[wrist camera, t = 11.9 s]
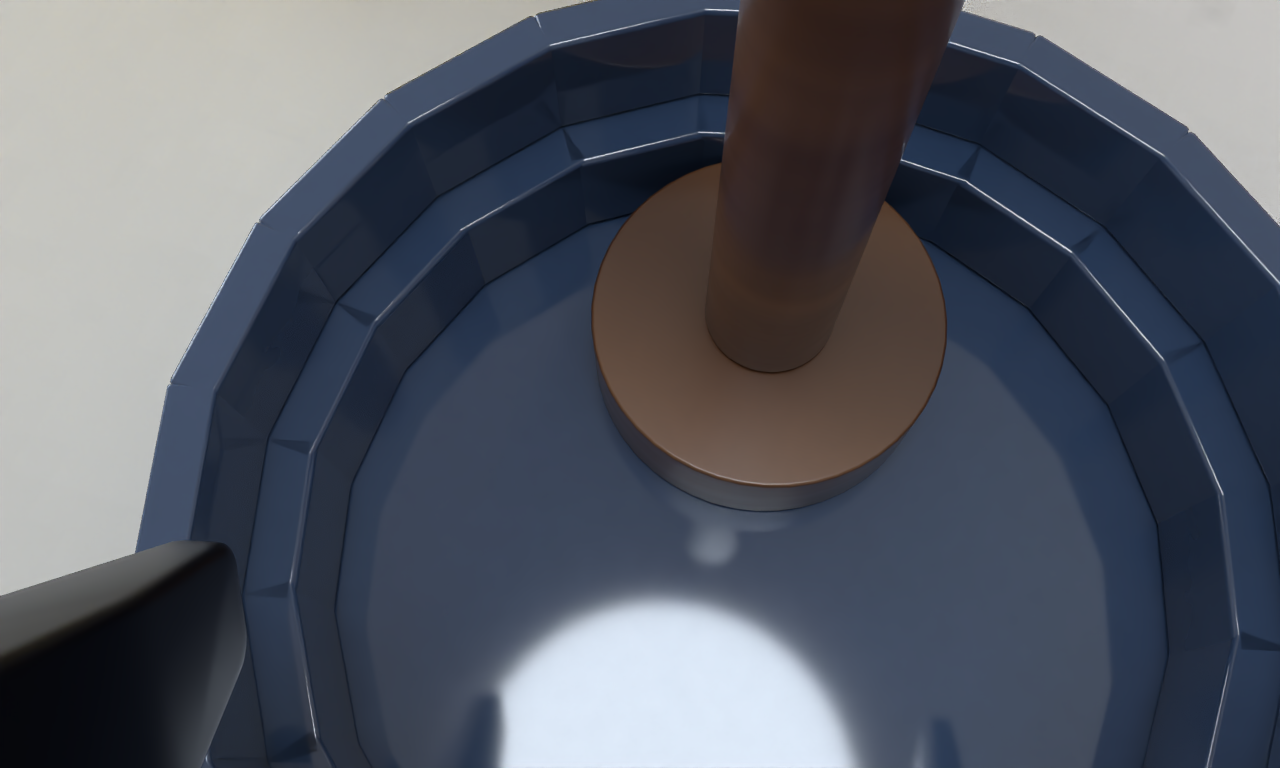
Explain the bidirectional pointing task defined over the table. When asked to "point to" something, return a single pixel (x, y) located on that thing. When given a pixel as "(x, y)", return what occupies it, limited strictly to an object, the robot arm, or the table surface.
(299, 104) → the table surface
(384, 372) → the bowl
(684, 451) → the brown plunger
